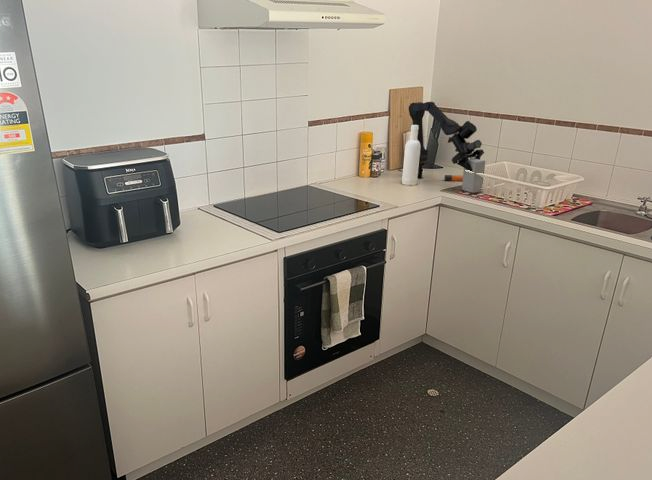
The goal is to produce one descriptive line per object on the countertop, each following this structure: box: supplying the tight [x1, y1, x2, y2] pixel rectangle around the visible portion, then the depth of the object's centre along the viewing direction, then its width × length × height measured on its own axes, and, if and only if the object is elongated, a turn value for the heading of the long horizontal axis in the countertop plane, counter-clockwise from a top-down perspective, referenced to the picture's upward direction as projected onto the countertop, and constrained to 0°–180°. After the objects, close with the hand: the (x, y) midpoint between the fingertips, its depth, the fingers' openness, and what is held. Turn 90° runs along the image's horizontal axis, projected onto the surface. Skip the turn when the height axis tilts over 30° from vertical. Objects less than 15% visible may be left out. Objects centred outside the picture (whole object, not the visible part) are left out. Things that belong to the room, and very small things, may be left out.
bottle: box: [401, 124, 421, 186], centre depth 285 cm, size 8×8×30 cm
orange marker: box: [443, 174, 463, 182], centre depth 297 cm, size 14×3×3 cm, turn 90°
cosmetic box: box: [461, 158, 486, 194], centre depth 274 cm, size 8×7×16 cm
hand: (476, 170), depth 272 cm, fingers closed on cosmetic box, 7 cm apart
